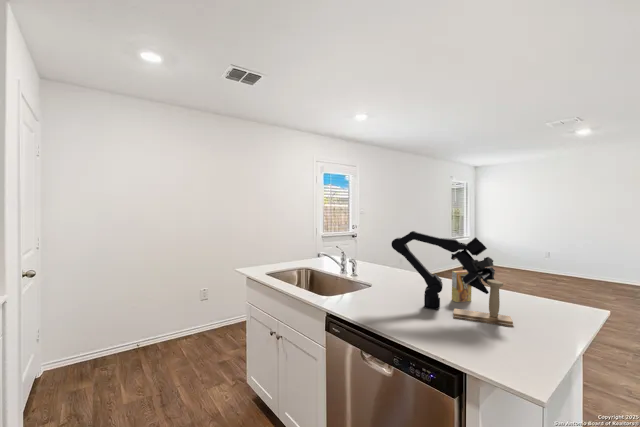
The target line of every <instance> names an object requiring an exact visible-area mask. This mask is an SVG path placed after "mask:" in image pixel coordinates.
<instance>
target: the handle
mask: <svg viewBox="0 0 640 427" xmlns="http://www.w3.org/2000/svg"><path fill="white" fill-rule="evenodd" d="M487 283H488V284H489V285H490V286H489V285H488V284H487ZM487 283H486V284H487V285H488V286H489V288H490V290H489V297H488V311H489V312H488V313H489V314H490V316H491V317H498V315H499V313H500V306H501V305H500V288H501V287H504V282H502V281H499V280H496V279H495V280H487Z"/></svg>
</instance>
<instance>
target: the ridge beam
mask: <svg viewBox="0 0 640 427" xmlns="http://www.w3.org/2000/svg"><path fill="white" fill-rule="evenodd" d="M452 317H453V319H457V320H462V321H463V320H465V321H470V322H477V323H483V324H490V325H491V324H492V325H496V326H503V327H504V326H505V327H510V328H514V322H513V318H512V316H511V315H506V314H505V315H504V314H498V317H491V316H490V314H489V312H482V311H474V310H469V309H462V308H461V309H459V308H453V316H452Z"/></svg>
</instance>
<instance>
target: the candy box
mask: <svg viewBox="0 0 640 427" xmlns="http://www.w3.org/2000/svg"><path fill="white" fill-rule="evenodd" d="M466 274H468V272H467V271H466V270H452V271H451V301H453V302H455V303H463V302H465V303H466V302H472V288H473V287H472V286H470V285H468V284H465V283H464V282H463V277H464V276H465V275H466ZM469 283H470V282H469Z"/></svg>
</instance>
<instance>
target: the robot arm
mask: <svg viewBox="0 0 640 427" xmlns="http://www.w3.org/2000/svg"><path fill="white" fill-rule="evenodd" d="M411 241H417V242H422V243H426V244H429V245H433V246H437V247H440V248H441V249H444V250H445V251H448V252H451V257H450V259H451V260H452V261H455V260H457V261H458V262H459V263H460V265H461V266H462V267H461V269H462V271H465V270H466V271H467V272H468V274H466V275H465V276H464V277H463V282H464V283H465V284H468V285H470V286H472V288H474V289H477V290H478V291H480V292H482V293H484V294H486V295H489V294H490V291H489V290H488V289H487V287H486V286H485V285H484V283H485V284H487V285H488V286H489V287H490V285H489V284H488V283H487V280H496V279H495V278H494V276H495V274H496V270H495V269H494V267H493V266H494V260H493V258H491V257H490V256H486V257H483V260H482V259H481V260H478V259H474V258H473V257H472V256H476V257H477V256H479V255H480V254H482V253H483V252H484V251H486V250H488V248H487V247H486V246H485V244H483V242H482V241H480V240H479V239H478V237H476V236H475V237H474V238H472V240H470V241H469V242H468V243H464V242H460V241H458V240H457V239H456V238H449V237H448V238H445V237H437V236H433V235H429V234H425V233H421V232H417V231H414V230H412V231H410V232H409V233H407V234H405V235H404V236H402V237H396V238H394V239H393V240H392V241H391V248H392V249H393V250H394V251H396V253H398V254H400V255H401V256H403V257H404V258H405V259H406V261H407V262H408V263H409V264H410V265H411V266H412V267H413V268H414V270H416V271H417V273H418V274H419V275H420V276H421V277H422V278H423V279H424V282H425V284H426V287H425V290H424V298H423V299H424V301H423V302H424V305H423V308H424V309H429V310H439V309H440V307H441V297H440V294H439V293H441V292H442V291H443V286H444V285H443V281H442V280H443V279H442V278H440V277H439V276H438V274H437V273H435V272H434V273H431V272H430V271H429V270H428V269H427V268H426V266H424V264H423V263H422V262H421V261H420V260H419V259H418V258H417V257H416V255H415V254H413V252H412V251H411V250H410V248H409V245H408V243H410V242H411ZM469 282H470V283H469ZM483 282H484V283H483Z"/></svg>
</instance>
